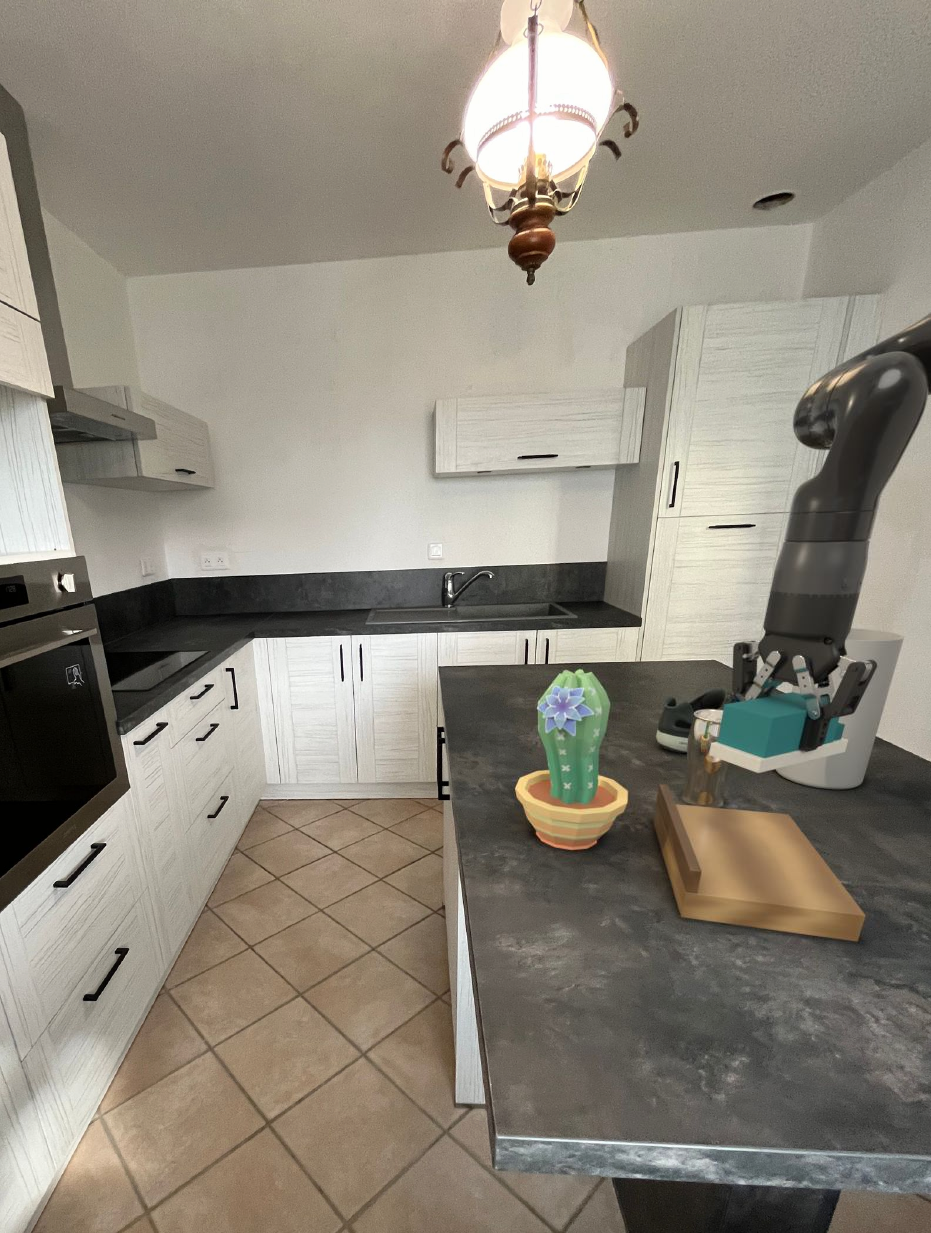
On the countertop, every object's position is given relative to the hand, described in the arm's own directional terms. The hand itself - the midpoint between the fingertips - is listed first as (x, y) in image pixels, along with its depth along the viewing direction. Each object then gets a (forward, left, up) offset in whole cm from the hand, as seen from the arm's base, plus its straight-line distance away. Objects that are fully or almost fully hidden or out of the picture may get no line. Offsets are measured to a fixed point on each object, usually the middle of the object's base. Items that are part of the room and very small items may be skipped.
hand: (779, 740), depth 67 cm
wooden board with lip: (0, -3, -20) cm, 20 cm away
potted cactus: (+21, -8, -20) cm, 30 cm away
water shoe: (-10, -55, -20) cm, 59 cm away
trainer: (0, 0, -2) cm, 2 cm away
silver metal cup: (0, -25, -20) cm, 32 cm away
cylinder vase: (-21, -41, -20) cm, 50 cm away
